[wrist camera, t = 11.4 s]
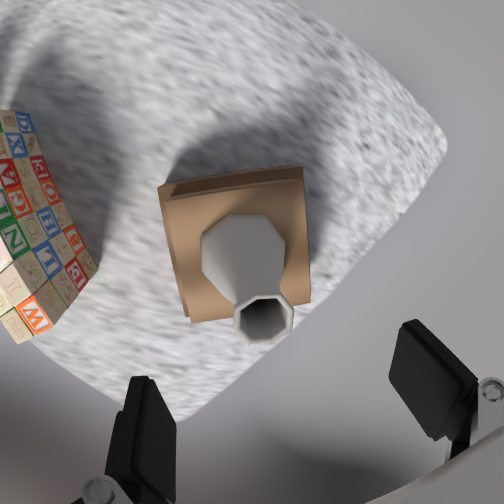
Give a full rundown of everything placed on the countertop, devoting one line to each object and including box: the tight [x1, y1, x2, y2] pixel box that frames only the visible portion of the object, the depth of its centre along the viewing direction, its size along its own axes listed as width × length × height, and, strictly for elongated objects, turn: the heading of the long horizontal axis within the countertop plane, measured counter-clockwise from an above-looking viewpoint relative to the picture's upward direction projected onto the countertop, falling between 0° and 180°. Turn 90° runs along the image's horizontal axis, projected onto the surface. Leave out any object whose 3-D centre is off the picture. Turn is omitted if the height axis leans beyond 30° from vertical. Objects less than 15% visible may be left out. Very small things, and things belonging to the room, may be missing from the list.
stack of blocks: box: [0, 109, 98, 344], centre depth 20 cm, size 21×6×12 cm, turn 23°
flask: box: [200, 214, 294, 345], centre depth 19 cm, size 7×7×10 cm
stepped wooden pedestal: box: [157, 165, 311, 323], centre depth 27 cm, size 13×13×7 cm
